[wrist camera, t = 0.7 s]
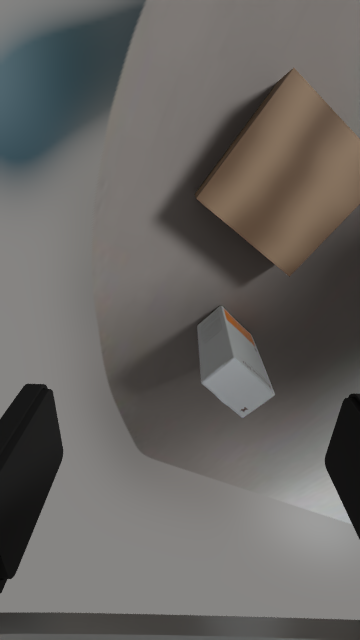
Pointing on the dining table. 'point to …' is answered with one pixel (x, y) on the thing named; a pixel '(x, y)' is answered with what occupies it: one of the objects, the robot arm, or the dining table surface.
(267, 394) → the skincare box
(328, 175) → the tan flat square block
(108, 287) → the dining table surface
